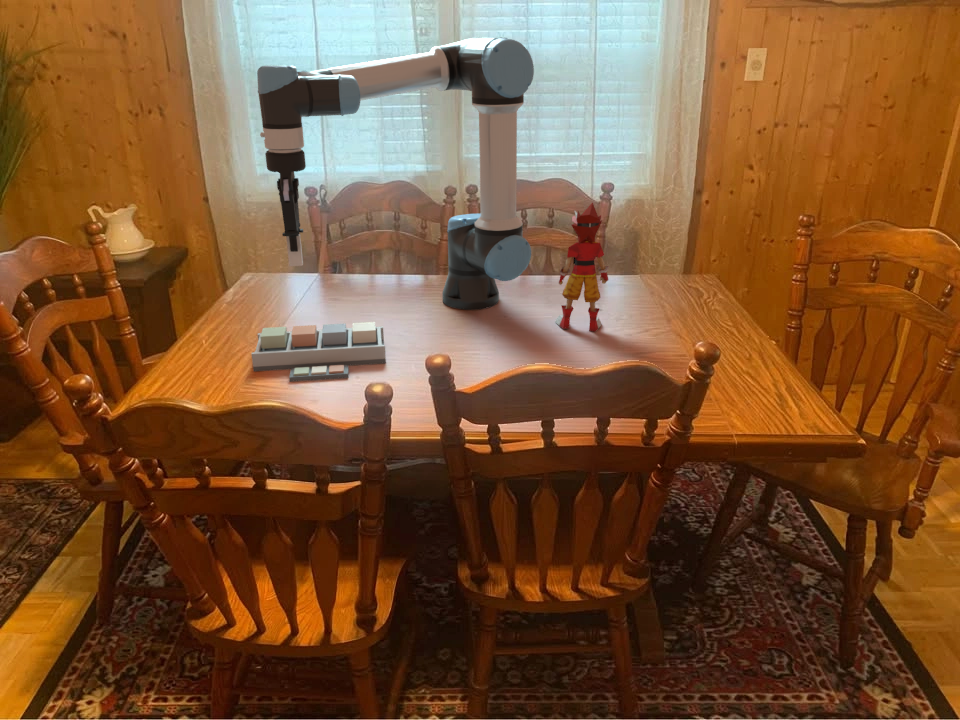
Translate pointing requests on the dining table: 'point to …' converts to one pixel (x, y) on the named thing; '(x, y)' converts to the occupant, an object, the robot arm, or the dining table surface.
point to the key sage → (274, 337)
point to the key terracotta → (304, 335)
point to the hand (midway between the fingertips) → (296, 264)
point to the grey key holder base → (320, 353)
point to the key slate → (334, 334)
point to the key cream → (364, 332)
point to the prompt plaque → (319, 373)
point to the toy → (583, 268)
